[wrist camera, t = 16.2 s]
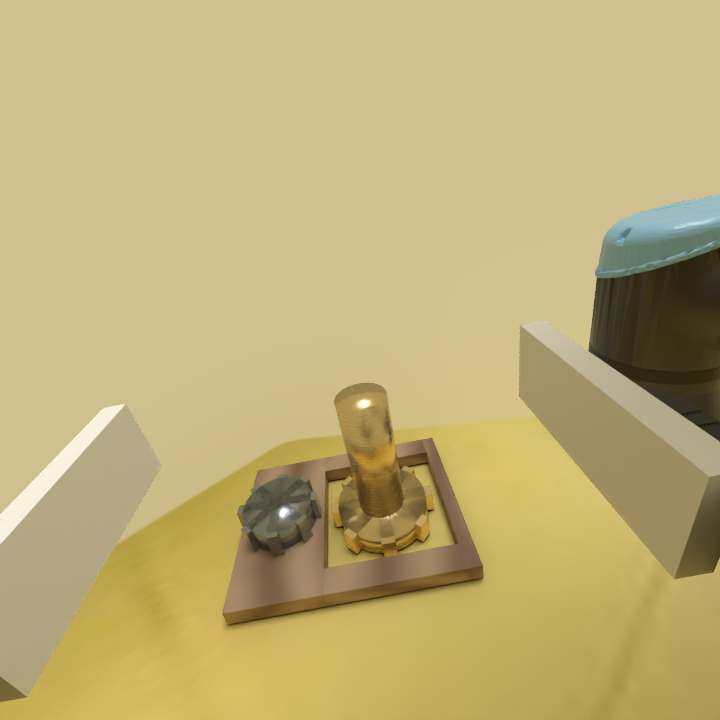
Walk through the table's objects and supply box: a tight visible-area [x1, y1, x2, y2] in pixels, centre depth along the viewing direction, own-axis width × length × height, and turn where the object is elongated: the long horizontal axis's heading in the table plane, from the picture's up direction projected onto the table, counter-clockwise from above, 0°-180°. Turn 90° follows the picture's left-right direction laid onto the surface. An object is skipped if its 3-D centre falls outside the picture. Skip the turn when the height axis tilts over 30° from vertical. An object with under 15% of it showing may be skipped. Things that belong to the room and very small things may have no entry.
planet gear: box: [332, 383, 434, 557], centre depth 34 cm, size 10×10×14 cm
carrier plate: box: [222, 438, 483, 624], centre depth 36 cm, size 21×16×2 cm
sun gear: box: [237, 474, 322, 557], centre depth 36 cm, size 8×8×2 cm
